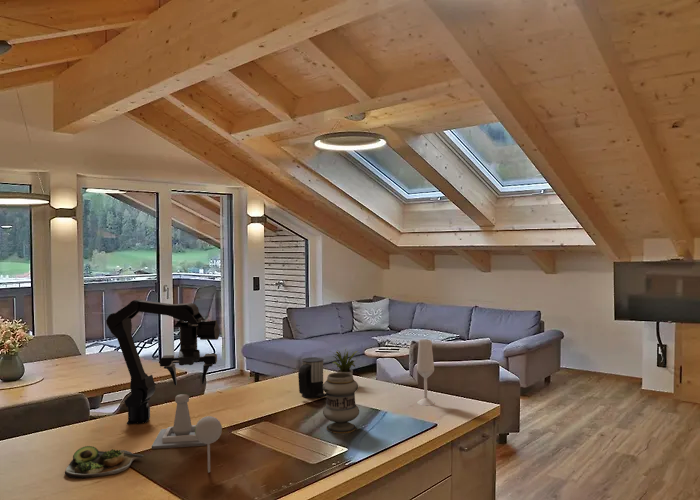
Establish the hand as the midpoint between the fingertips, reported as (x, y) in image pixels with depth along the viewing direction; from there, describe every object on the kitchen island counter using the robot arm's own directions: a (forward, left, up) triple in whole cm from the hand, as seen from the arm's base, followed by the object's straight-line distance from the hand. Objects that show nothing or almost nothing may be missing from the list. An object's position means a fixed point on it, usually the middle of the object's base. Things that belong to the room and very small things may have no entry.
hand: (189, 384), depth 195 cm
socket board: (0, -17, -13) cm, 21 cm away
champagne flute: (+87, +7, -13) cm, 88 cm away
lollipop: (+11, -46, -13) cm, 49 cm away
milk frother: (+48, +23, -13) cm, 54 cm away
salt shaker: (0, -17, -12) cm, 21 cm away
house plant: (+59, +40, -13) cm, 72 cm away
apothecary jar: (+51, -17, -13) cm, 55 cm away
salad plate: (-20, -36, -14) cm, 43 cm away
